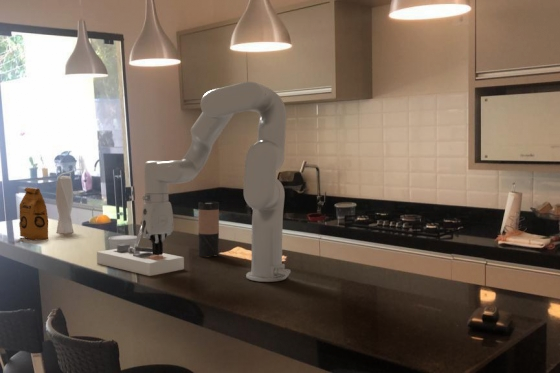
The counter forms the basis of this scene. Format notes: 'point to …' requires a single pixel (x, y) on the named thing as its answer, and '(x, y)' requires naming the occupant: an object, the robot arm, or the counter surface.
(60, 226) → the skyscraper
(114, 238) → the ramekin
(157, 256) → the terracotta button
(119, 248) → the charcoal button
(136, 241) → the toggle lever
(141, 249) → the black rocker
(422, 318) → the counter surface
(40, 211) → the coffee package
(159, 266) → the control panel
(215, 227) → the travel mug
